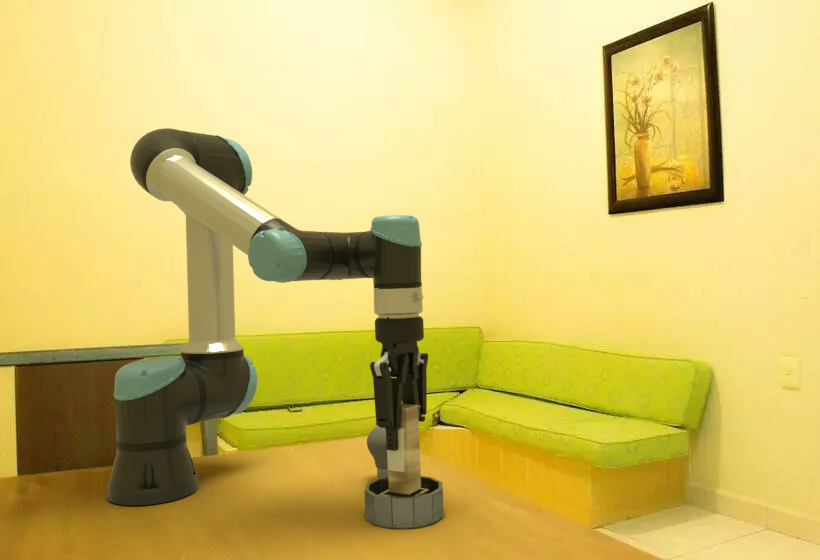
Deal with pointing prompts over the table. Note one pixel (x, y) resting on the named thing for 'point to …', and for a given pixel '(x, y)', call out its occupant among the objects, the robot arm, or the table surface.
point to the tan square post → (408, 454)
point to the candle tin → (403, 504)
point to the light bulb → (378, 450)
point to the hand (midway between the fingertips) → (404, 466)
